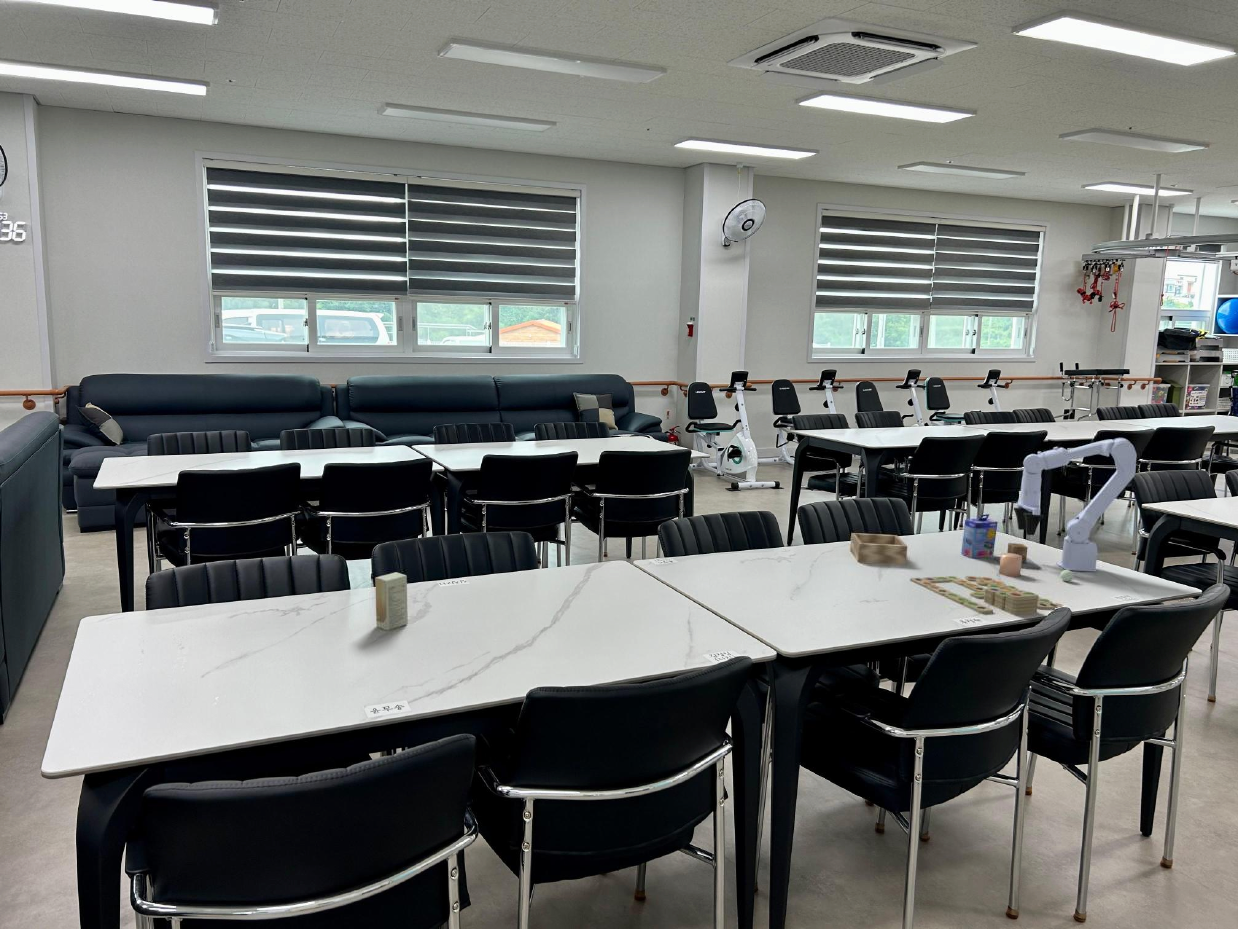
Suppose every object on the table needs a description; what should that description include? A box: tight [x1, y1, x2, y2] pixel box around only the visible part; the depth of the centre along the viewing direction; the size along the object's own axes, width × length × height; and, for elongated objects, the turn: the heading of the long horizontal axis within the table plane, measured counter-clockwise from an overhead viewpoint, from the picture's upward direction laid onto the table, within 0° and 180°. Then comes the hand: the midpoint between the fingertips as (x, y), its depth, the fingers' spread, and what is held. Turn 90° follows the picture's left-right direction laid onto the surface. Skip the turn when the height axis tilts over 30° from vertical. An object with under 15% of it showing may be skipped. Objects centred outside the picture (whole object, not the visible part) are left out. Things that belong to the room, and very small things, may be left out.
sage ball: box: [1059, 569, 1074, 583], centre depth 267 cm, size 4×4×4 cm
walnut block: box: [1006, 542, 1028, 564], centre depth 286 cm, size 4×4×6 cm
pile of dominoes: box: [909, 575, 1064, 616], centre depth 250 cm, size 35×27×6 cm
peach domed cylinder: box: [998, 552, 1022, 578], centre depth 273 cm, size 6×6×6 cm
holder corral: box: [849, 532, 908, 566], centre depth 288 cm, size 15×15×6 cm
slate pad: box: [993, 555, 1042, 570], centre depth 287 cm, size 11×11×1 cm
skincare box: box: [374, 572, 409, 631], centre depth 208 cm, size 6×4×12 cm
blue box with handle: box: [960, 513, 998, 559], centre depth 294 cm, size 10×6×14 cm, turn 114°
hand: (1026, 532), depth 288 cm, fingers open, 7 cm apart
